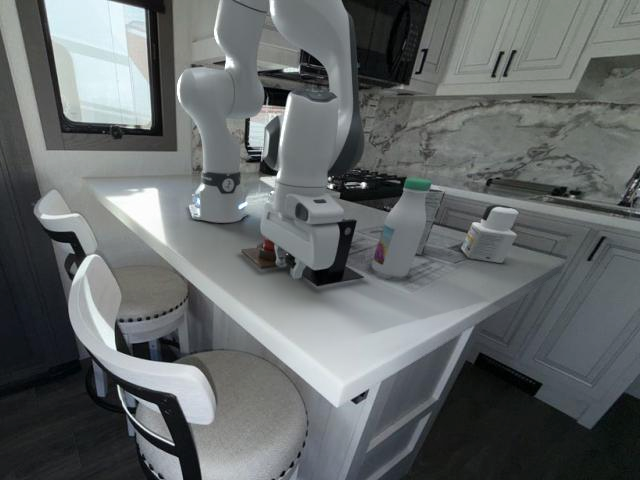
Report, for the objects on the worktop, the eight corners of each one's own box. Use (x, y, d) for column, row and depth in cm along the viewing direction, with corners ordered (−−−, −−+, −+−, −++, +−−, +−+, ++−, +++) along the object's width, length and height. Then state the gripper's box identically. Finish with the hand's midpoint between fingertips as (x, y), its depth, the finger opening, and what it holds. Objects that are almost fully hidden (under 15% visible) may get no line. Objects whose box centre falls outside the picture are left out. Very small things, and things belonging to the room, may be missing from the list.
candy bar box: (392, 239, 90) (411, 180, 81) (410, 241, 89) (431, 182, 81) (402, 253, 80) (424, 188, 72) (422, 255, 80) (447, 190, 71)
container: (460, 248, 86) (481, 201, 79) (491, 253, 84) (516, 205, 77) (467, 258, 80) (491, 208, 73) (502, 263, 78) (529, 212, 71)
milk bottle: (409, 272, 70) (443, 180, 60) (403, 284, 64) (440, 184, 54) (374, 263, 74) (401, 174, 63) (366, 273, 68) (394, 178, 58)
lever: (293, 272, 59) (288, 260, 57) (284, 265, 61) (279, 253, 59) (350, 231, 60) (347, 218, 58) (339, 226, 62) (336, 213, 60)
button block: (241, 255, 73) (241, 241, 71) (277, 251, 77) (278, 238, 75) (260, 273, 65) (261, 258, 64) (299, 267, 69) (301, 252, 67)
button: (260, 246, 70) (261, 236, 69) (273, 245, 72) (274, 234, 70) (267, 252, 68) (268, 241, 66) (281, 250, 69) (283, 239, 68)
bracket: (316, 290, 60) (329, 226, 53) (291, 271, 67) (300, 213, 60) (362, 281, 64) (380, 222, 58) (335, 264, 71) (347, 209, 65)
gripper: (255, 188, 60) (250, 253, 67) (318, 217, 44) (303, 298, 52) (283, 187, 63) (275, 250, 70) (352, 214, 47) (333, 292, 54)
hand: (288, 271), depth 61 cm, fingers open, 4 cm apart
